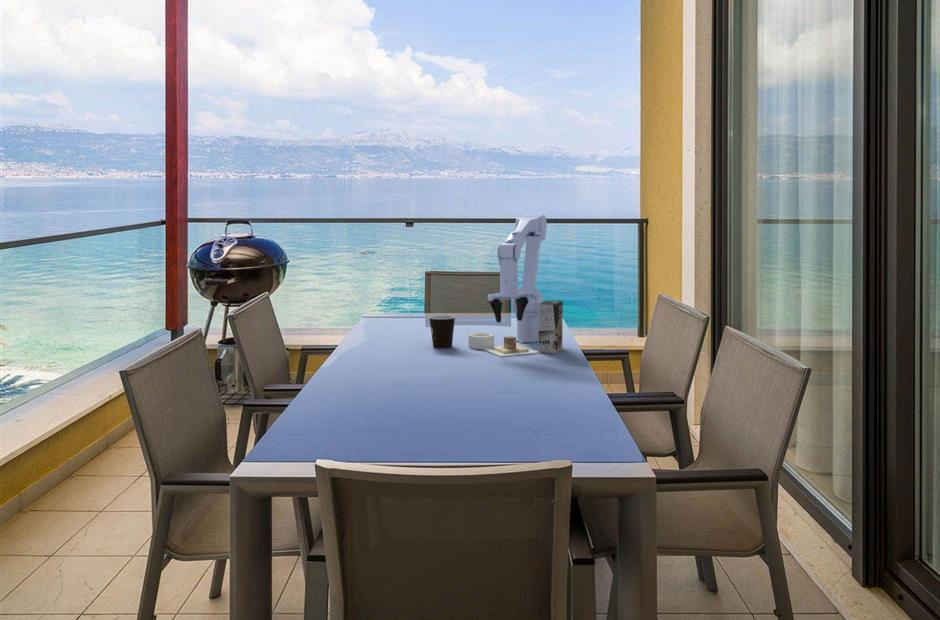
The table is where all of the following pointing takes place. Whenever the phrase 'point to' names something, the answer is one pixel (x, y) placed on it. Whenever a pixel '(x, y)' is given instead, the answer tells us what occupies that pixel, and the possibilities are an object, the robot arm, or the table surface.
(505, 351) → the cover
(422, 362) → the table surface
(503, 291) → the robot arm
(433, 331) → the coffee mug
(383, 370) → the table surface
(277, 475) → the table surface
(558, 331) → the coffee box
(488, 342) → the bowl
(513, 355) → the mat
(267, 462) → the table surface
